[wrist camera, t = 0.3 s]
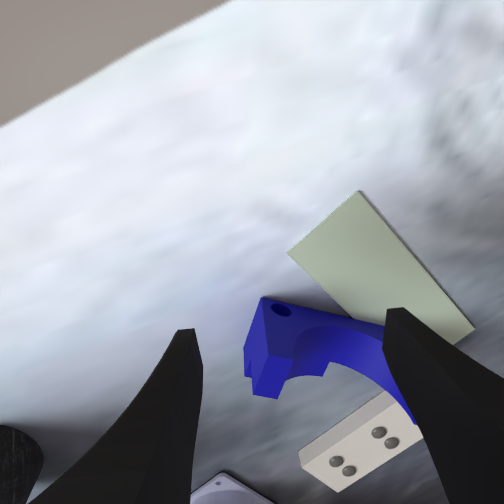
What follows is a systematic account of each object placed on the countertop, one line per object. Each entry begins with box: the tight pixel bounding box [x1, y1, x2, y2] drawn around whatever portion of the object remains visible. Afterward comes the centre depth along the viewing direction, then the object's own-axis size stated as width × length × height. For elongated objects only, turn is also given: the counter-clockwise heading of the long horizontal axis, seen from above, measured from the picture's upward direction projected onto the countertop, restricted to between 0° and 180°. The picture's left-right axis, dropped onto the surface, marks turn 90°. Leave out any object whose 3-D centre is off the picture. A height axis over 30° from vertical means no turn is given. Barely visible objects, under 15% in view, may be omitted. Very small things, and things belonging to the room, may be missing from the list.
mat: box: [287, 191, 475, 345], centre depth 25 cm, size 6×15×1 cm, turn 44°
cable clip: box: [244, 297, 417, 425], centre depth 24 cm, size 12×4×6 cm, turn 74°
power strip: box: [298, 390, 423, 493], centre depth 29 cm, size 14×5×2 cm, turn 134°
